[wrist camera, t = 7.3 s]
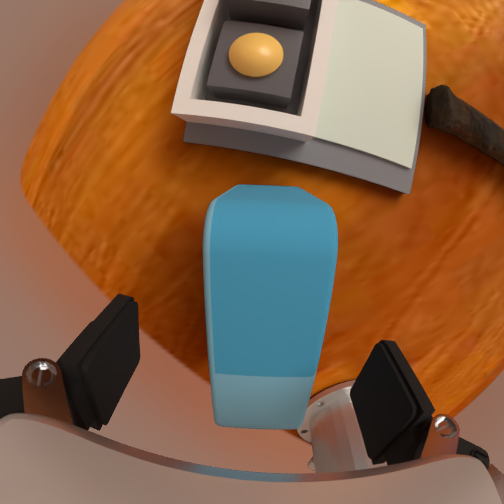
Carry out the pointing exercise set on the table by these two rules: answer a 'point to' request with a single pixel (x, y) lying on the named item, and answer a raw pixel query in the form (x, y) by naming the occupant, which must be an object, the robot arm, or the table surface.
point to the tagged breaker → (255, 63)
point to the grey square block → (270, 12)
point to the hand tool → (464, 122)
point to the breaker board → (322, 94)
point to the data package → (266, 301)
